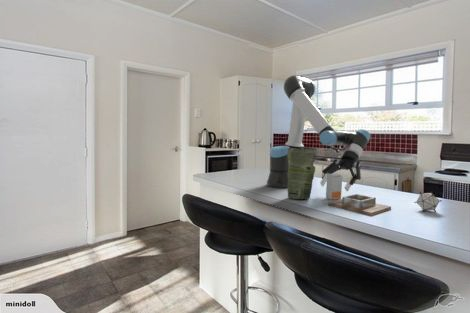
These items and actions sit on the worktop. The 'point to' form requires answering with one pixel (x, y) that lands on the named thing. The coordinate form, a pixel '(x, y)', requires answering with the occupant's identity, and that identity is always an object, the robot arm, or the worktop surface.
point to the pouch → (300, 172)
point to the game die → (427, 201)
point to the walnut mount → (360, 204)
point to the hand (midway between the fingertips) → (333, 187)
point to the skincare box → (334, 186)
